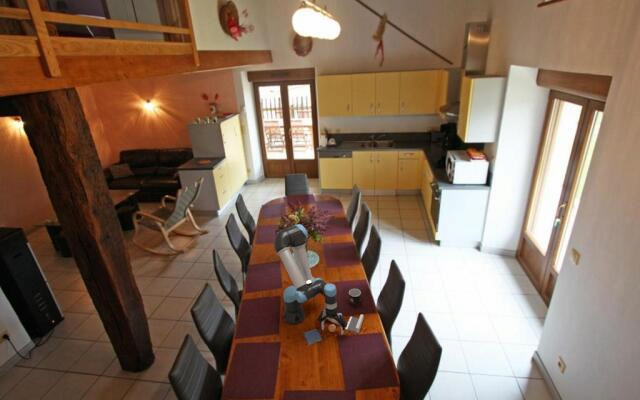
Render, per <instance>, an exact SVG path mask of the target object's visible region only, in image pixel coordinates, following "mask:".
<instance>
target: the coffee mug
mask: <svg viewBox="0 0 640 400" xmlns="http://www.w3.org/2000/svg"><path fill="white" fill-rule="evenodd" d="M348 294H349V295H348V296H349V302H350V305H351V306H353V307H359V305H360V303H364V301H365V300H364V298H363V297H362V295H361V294H362V292H361V290H360V289H359V288H351V289H349V291H348ZM361 299H362V301H361Z"/></svg>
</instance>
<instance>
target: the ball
mask: <svg viewBox="0 0 640 400" xmlns="http://www.w3.org/2000/svg"><path fill="white" fill-rule="evenodd" d="M336 330H337V327H336V324H334V323H332V324H331V323H330V324H329V325H328V331H329V332H331V333H334V332H336Z"/></svg>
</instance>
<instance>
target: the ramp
mask: <svg viewBox="0 0 640 400" xmlns="http://www.w3.org/2000/svg"><path fill="white" fill-rule="evenodd" d="M323 309H324V310H326V308H325V307H323ZM325 315H326V313H324V314H323V315H322V316H321V318H322V317H324V316H325ZM339 318H340V317H339ZM326 320H327V321H328V322H331V323H332V324H334V325H335V326H336V325H337V326H339V325H340V324H339V323H338V322H337V321H336V320H335V319H332V318H329V317H328V318H326V319H325V320H324V323H325V322H326Z"/></svg>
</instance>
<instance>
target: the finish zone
mask: <svg viewBox="0 0 640 400" xmlns="http://www.w3.org/2000/svg"><path fill="white" fill-rule="evenodd" d="M363 323H364V314H360V316H359V318H358V317H354V316H350V317H349V319H348V321H347V324H348V325H347V327H345V331H346V330H347V331H351V332H355V333H356V334H359V333H360V331H361V328H362V325H363Z"/></svg>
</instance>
